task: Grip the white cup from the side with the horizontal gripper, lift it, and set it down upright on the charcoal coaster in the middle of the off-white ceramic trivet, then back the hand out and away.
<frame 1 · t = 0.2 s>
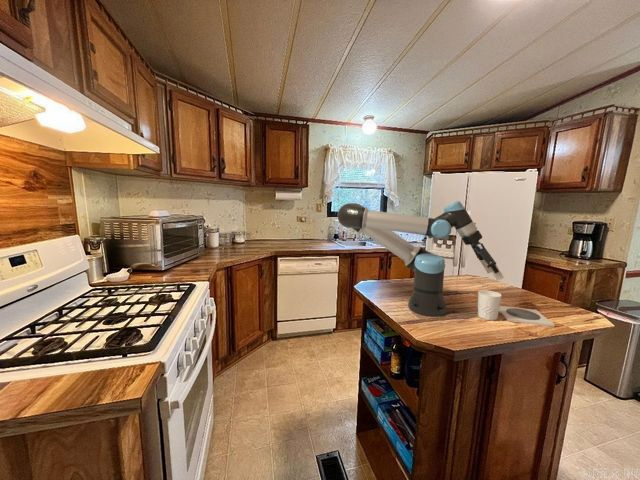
hand: (495, 275, 115), 14 cm above the countertop, tool tilted 35°, fingers open, 13 cm apart
trivet: (522, 316, 108), on the countertop
white cup: (487, 317, 106), on the countertop
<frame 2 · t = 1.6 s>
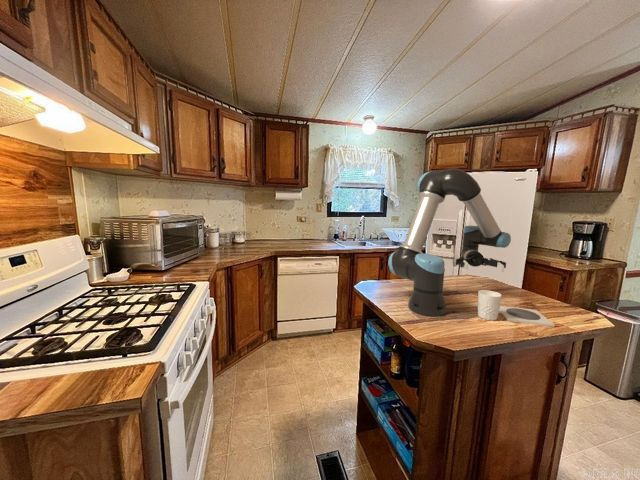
hand: (484, 267, 114), 18 cm above the countertop, tool horizontal, fingers open, 13 cm apart
nothing on the countertop moved.
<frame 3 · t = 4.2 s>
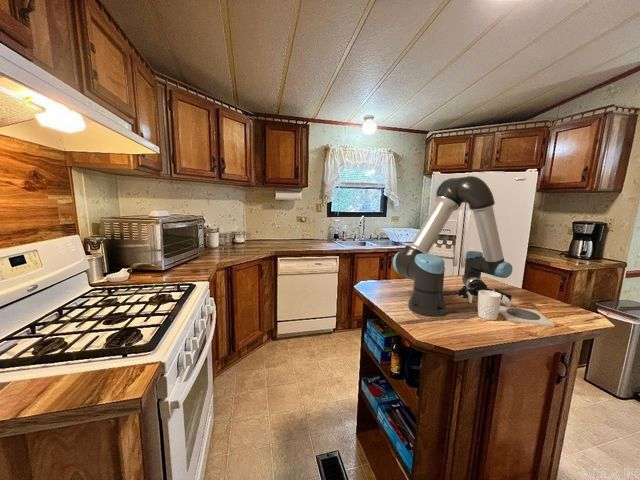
hand: (489, 301, 107), 6 cm above the countertop, tool horizontal, fingers open, 13 cm apart
nothing on the countertop moved.
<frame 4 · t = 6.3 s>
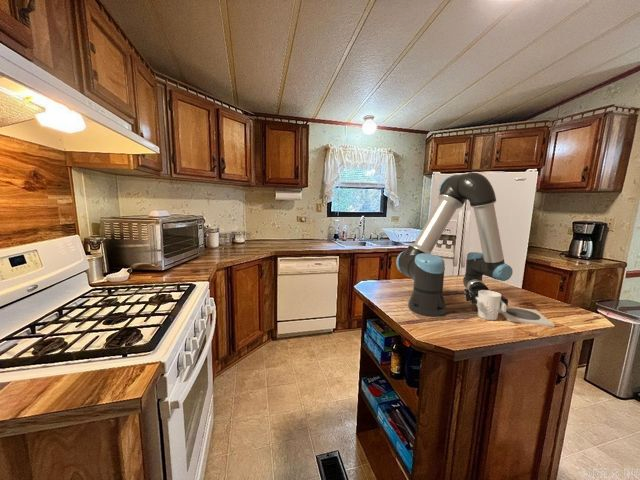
hand: (492, 307, 101), 6 cm above the countertop, tool horizontal, fingers closed on white cup, 8 cm apart
white cup: (487, 317, 106), on the countertop, touching gripper
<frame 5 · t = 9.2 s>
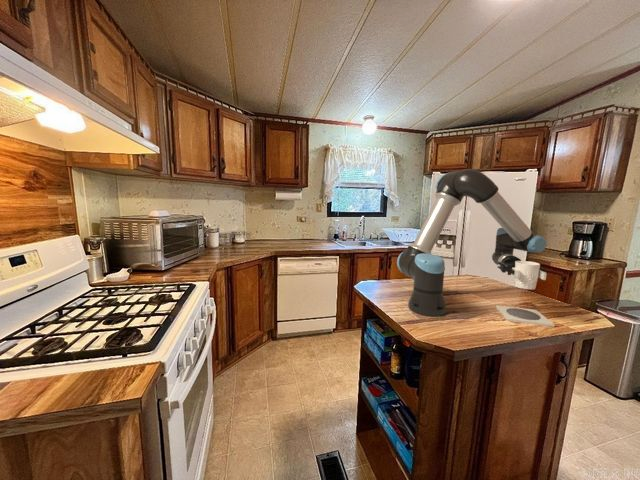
hand: (531, 275, 101), 18 cm above the countertop, tool horizontal, fingers closed on white cup, 8 cm apart
white cup: (524, 287, 106), point 12 cm above the countertop, touching gripper
when the fingers open (8 cm above the countertop, at t = 11.9 s): white cup drops 1 cm, resting on trivet.
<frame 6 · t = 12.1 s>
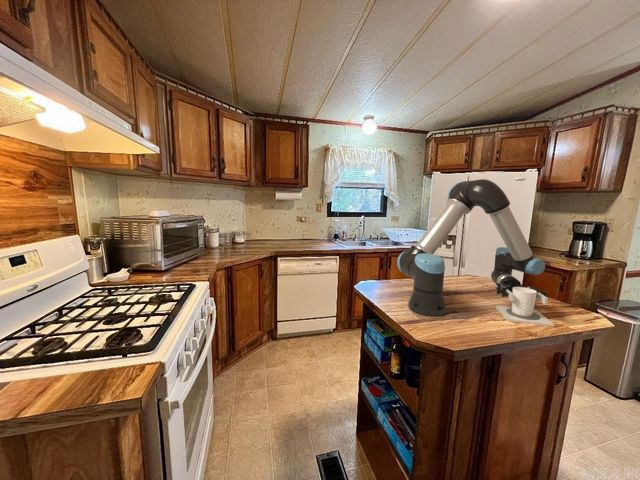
hand: (529, 299, 103), 8 cm above the countertop, tool horizontal, fingers open, 10 cm apart
white cup: (521, 313, 108), point 1 cm above the countertop, touching trivet
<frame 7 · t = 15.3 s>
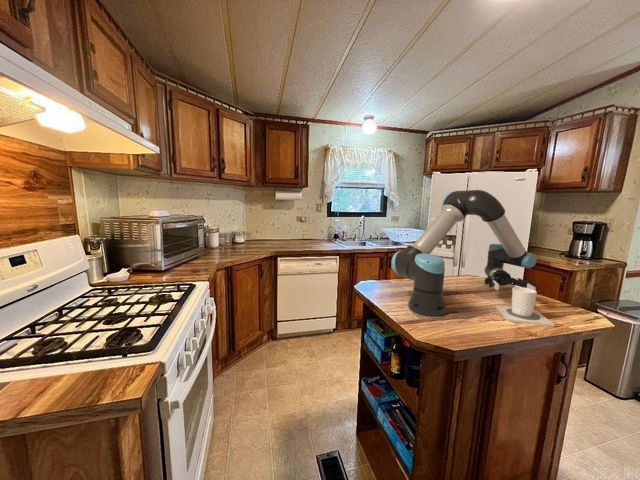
hand: (515, 289, 116), 9 cm above the countertop, tool horizontal, fingers open, 13 cm apart
nothing on the countertop moved.
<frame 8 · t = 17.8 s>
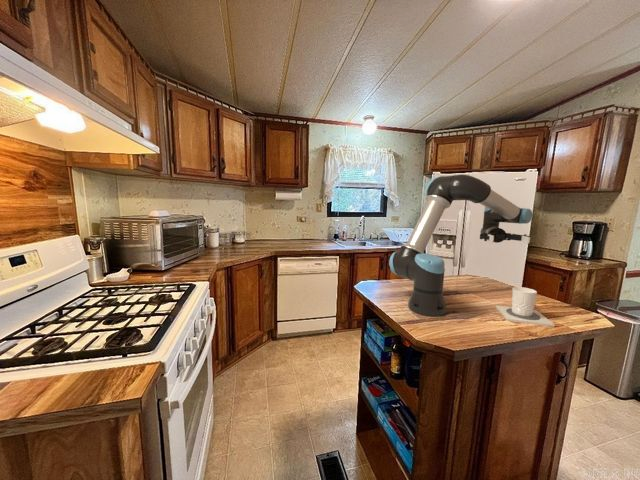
hand: (510, 239, 117), 30 cm above the countertop, tool horizontal, fingers open, 13 cm apart
nothing on the countertop moved.
at the end: white cup inside the target area on the trivet (0.3 cm from its centre), point 0.9 cm above the trivet's base; white cup tilted 0°; the gripper is holding nothing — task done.
